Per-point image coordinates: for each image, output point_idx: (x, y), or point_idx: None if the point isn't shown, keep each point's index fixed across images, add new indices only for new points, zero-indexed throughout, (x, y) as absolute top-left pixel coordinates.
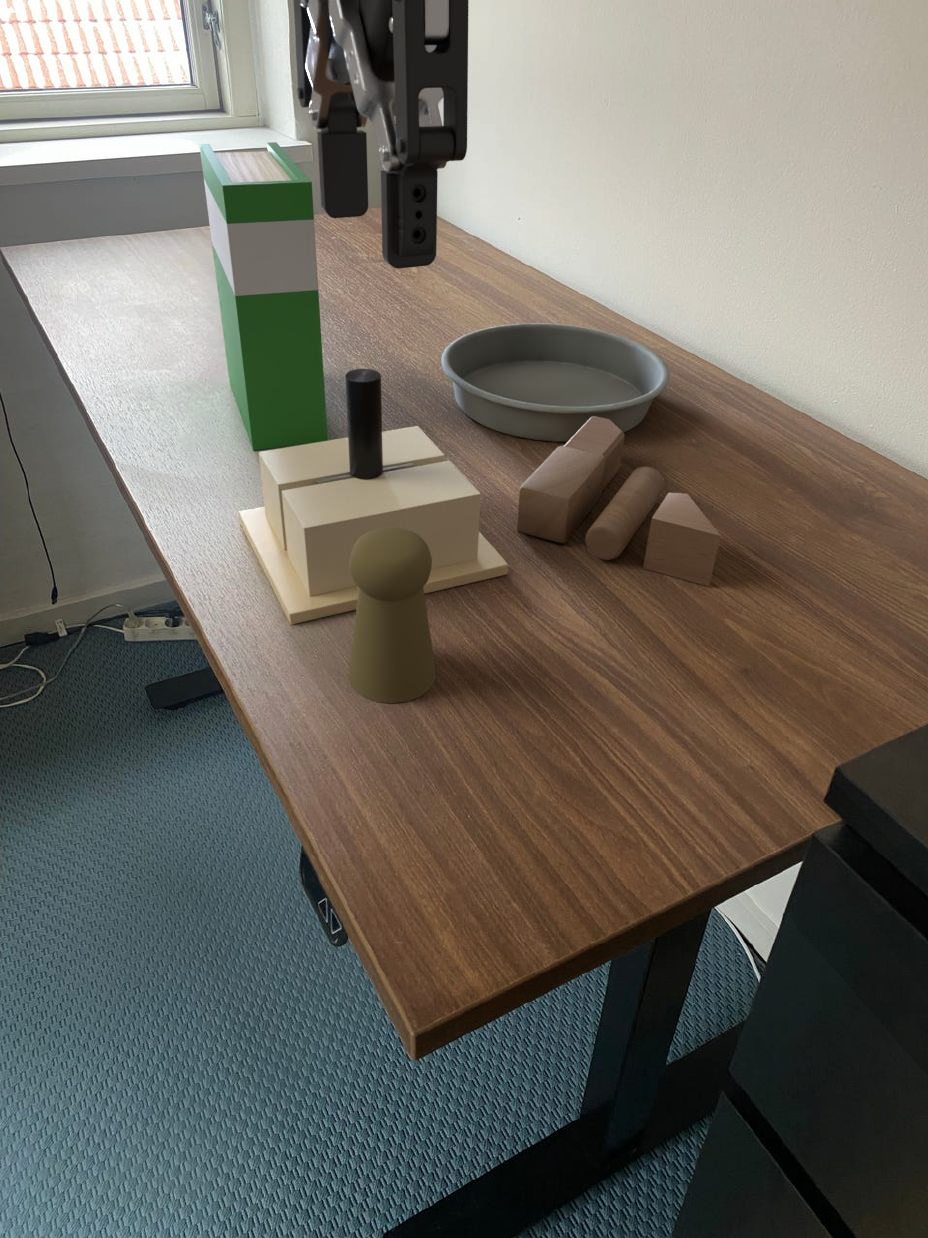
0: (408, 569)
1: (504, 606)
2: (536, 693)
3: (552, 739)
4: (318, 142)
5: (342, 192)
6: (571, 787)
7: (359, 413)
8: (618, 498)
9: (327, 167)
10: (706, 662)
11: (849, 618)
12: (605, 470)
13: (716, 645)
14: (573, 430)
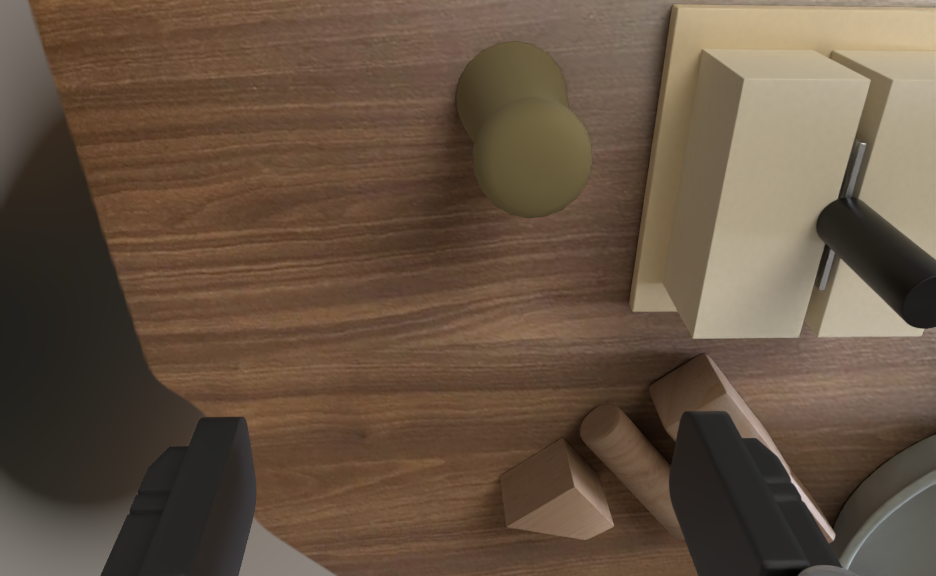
0: (478, 171)
1: (572, 274)
2: (410, 238)
3: (335, 220)
4: (785, 539)
5: (693, 481)
6: (262, 205)
7: (882, 258)
8: (654, 477)
9: (724, 500)
10: (388, 411)
11: (396, 553)
12: None
13: (409, 433)
14: (856, 508)
